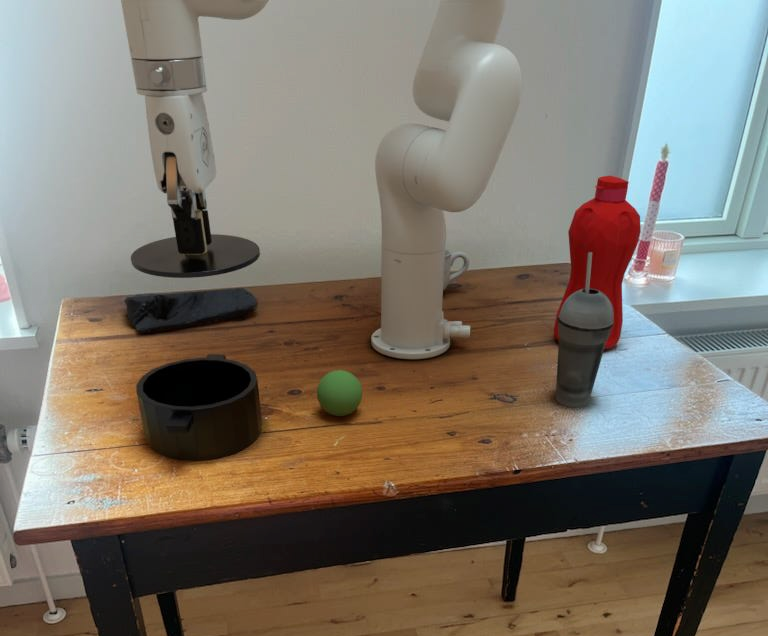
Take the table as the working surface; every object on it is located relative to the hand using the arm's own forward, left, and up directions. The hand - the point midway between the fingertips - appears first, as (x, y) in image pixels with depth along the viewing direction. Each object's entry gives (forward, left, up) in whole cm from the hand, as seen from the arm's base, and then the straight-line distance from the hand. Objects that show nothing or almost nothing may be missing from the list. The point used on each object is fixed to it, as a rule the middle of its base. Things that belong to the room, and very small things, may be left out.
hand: (195, 247), depth 92 cm
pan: (-1, +9, -21) cm, 23 cm away
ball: (-18, +3, -18) cm, 25 cm away
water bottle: (-56, -24, -21) cm, 64 cm away
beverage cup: (-50, -3, -21) cm, 54 cm away
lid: (0, 0, -1) cm, 1 cm away
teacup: (-30, -45, -21) cm, 58 cm away
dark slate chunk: (+11, -32, -21) cm, 40 cm away
